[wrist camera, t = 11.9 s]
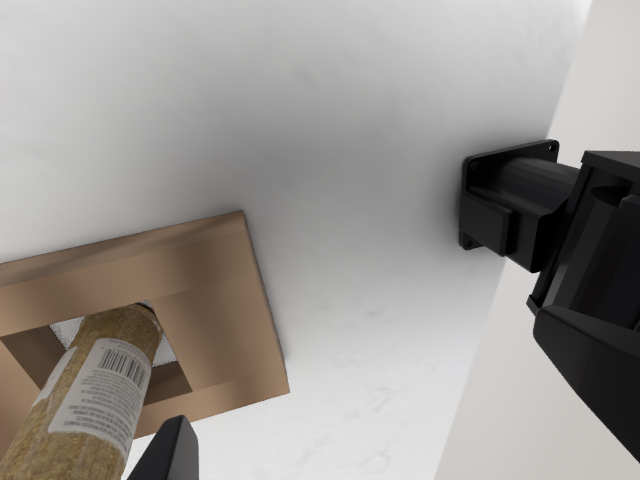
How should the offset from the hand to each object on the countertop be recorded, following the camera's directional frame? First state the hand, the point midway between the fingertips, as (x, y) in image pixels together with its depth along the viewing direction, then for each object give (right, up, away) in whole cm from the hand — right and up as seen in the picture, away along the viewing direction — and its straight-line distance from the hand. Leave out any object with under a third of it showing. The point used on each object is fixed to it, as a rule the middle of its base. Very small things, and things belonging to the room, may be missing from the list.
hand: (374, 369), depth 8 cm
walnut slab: (-14, -2, +13) cm, 19 cm away
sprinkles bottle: (-13, -2, +13) cm, 19 cm away
